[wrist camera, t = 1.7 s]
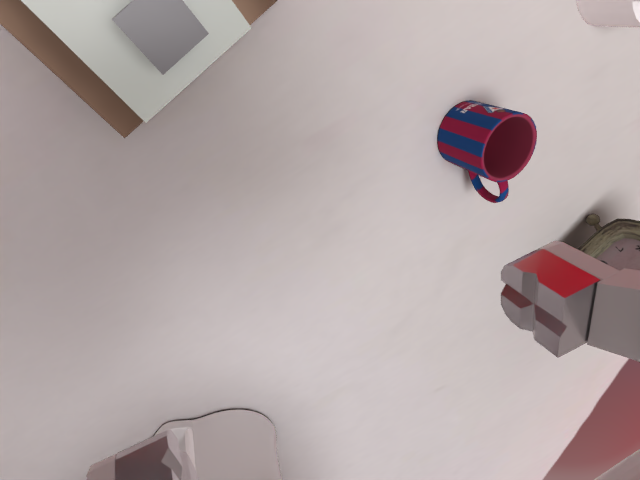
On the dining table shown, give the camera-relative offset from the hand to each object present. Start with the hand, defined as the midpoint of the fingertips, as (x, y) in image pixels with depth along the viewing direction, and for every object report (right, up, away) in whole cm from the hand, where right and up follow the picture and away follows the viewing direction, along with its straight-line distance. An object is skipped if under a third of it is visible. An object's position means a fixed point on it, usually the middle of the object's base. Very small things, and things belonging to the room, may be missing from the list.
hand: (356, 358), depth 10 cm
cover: (-13, +18, +19) cm, 29 cm away
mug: (+15, +13, +38) cm, 43 cm away
